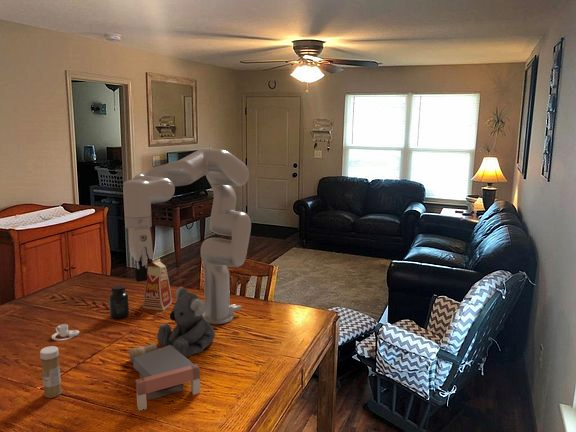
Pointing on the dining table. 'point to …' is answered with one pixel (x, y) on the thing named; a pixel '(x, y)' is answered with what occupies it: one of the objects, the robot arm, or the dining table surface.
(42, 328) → the dining table surface
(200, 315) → the koala plush
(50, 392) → the sprinkles bottle
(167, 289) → the milk carton
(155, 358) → the slab
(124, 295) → the supplement bottle
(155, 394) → the track
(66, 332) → the white looped ring piece
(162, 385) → the pink u-shaped frame
